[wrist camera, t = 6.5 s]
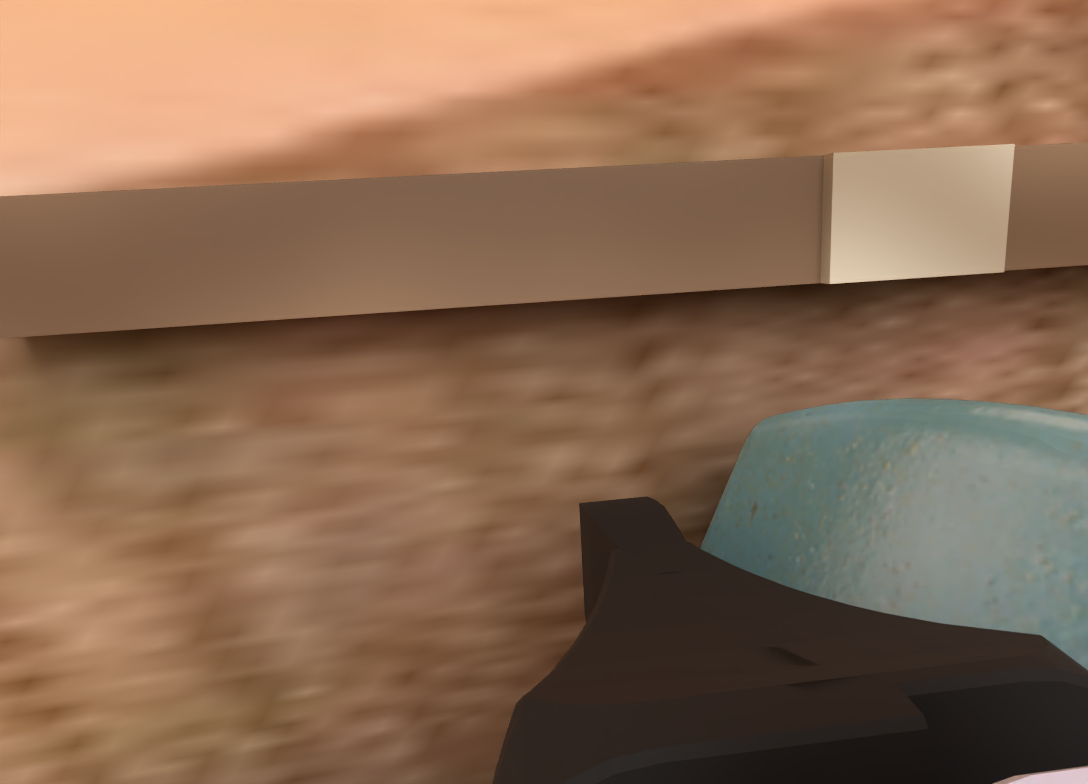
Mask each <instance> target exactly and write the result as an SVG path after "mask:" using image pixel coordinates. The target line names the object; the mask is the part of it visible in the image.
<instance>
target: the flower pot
mask: <svg viewBox="0 0 1088 784" xmlns="http://www.w3.org/2000/svg"><path fill="white" fill-rule="evenodd" d="M700 549H702V550H704V551H706V552H708V553H710V554H712V555H714V556H716V557H718V558H720V559H722V560H724V561H726V562H728V563H730V564H732V565H734V566H737V567H739V568H741V569H744V570H746V571H748V572H751V573H753V574H756V575H759V576H761V577H764V578H766V579H769V580H772V581H774V582H777V583H779V584H782V585H785V586H788V587H791V588H794V589H797V590H800V591H803V592H806V593H809V594H813V595H816V596H820V597H824V598H827V599H831V600H834V601H838V602H841V603H845V604H848V605H852V606H857V607H861V608H865V609H870V610H874V611H878V612H883V613H888V614H893V615H899V616H904V617H909V618H915V619H920V620H925V621H931V622H937V623H943V624H951V625H959V626H968V627H977V628H985V629H994V630H1002V631H1011V632H1019V633H1028V634H1037V635H1041V636H1043V637H1045V638H1046V639H1047V640H1049V641H1050V642H1051V643H1052V644H1054V645H1055V646H1056V647H1058V648H1059V649H1060V650H1062V651H1063V652H1064V653H1066V654H1067V655H1068V656H1070V657H1071V658H1072V659H1074V660H1075V661H1076V662H1078V663H1079V664H1080V665H1082V666H1083V667H1084V668H1086V669H1087V670H1088V415H1085V414H1079V413H1073V412H1067V411H1060V410H1054V409H1048V408H1041V407H1035V406H1026V405H1016V404H1006V403H996V402H984V401H969V400H954V399H909V398H905V399H885V400H865V401H854V402H846V403H837V404H830V405H824V406H819V407H813V408H807V409H802V410H797V411H792V412H787V413H782V414H778V415H774V416H771V417H768V418H766V419H763V420H762V421H761V422H760V423H759V424H757V425H756V426H755V427H754V428H753V430H752V431H751V433H750V434H749V436H748V437H747V439H746V441H745V444H744V446H743V448H742V450H741V453H740V455H739V457H738V460H737V462H736V464H735V466H734V469H733V471H732V473H731V476H730V478H729V481H728V483H727V485H726V488H725V490H724V492H723V495H722V497H721V499H720V502H719V504H718V507H717V509H716V511H715V514H714V516H713V518H712V521H711V523H710V526H709V528H708V530H707V533H706V535H705V538H704V540H703V542H702V545H701V547H700Z"/></svg>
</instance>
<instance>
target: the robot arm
mask: <svg viewBox="0 0 1088 784" xmlns="http://www.w3.org/2000/svg"><path fill="white" fill-rule="evenodd" d="M579 505H580V525H581V545H582V565H583V585H584V605H585V617H586V624H585V626H584V628H583V630H582V631H581V633H580V635H579V636H578V638H577V640H576V641H575V643H574V644H573V645H572V647H571V648H570V649H569V650H568V652H567V653H566V654H565V656H564V657H563V658H562V659H561V661H560V662H559V663H558V665H557V666H556V667H555V669H554V670H553V671H552V672H551V673H550V674H549V675H548V676H547V677H546V678H545V679H543V680H542V681H541V682H540V683H539V684H538V685H537V686H536V687H534V688H533V689H532V690H531V691H530V692H528V693H527V694H526V695H524V696H523V697H522V698H521V699H520V700H519V701H518V702H517V704H516V706H515V709H514V712H513V715H512V718H511V721H510V724H509V727H508V730H507V734H506V737H505V740H504V743H503V747H502V750H501V754H500V757H499V761H498V764H497V768H496V772H495V776H494V780H493V784H1088V670H1087V669H1086V668H1084V667H1083V666H1082V665H1080V664H1079V663H1078V662H1076V661H1075V660H1074V659H1072V658H1071V657H1070V656H1068V655H1067V654H1066V653H1064V652H1063V651H1062V650H1060V649H1059V648H1058V647H1056V646H1055V645H1054V644H1052V643H1051V642H1050V641H1049V640H1047V639H1046V638H1045V637H1043V636H1041V635H1037V634H1028V633H1019V632H1011V631H1002V630H994V629H985V628H977V627H968V626H959V625H951V624H943V623H937V622H931V621H925V620H920V619H915V618H909V617H904V616H899V615H893V614H888V613H883V612H878V611H874V610H870V609H865V608H861V607H857V606H852V605H848V604H845V603H841V602H838V601H834V600H831V599H827V598H824V597H820V596H816V595H813V594H809V593H806V592H803V591H800V590H797V589H794V588H791V587H788V586H785V585H782V584H779V583H777V582H774V581H772V580H769V579H766V578H764V577H761V576H759V575H756V574H753V573H751V572H748V571H746V570H744V569H741V568H739V567H737V566H734V565H732V564H730V563H728V562H726V561H724V560H722V559H720V558H718V557H716V556H714V555H712V554H710V553H708V552H706V551H704V550H702V549H700V548H698V547H696V546H694V545H693V544H691V543H689V542H687V541H686V540H685V539H684V537H683V535H682V534H681V532H680V531H679V529H678V527H677V526H676V524H675V522H674V521H673V519H672V518H671V516H670V515H669V513H668V512H667V510H666V509H665V507H664V506H662V505H661V504H660V503H658V502H657V501H656V500H654V499H652V498H649V497H639V498H629V499H618V500H608V501H598V502H587V503H579Z"/></svg>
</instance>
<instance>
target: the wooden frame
mask: <svg viewBox="0 0 1088 784" xmlns="http://www.w3.org/2000/svg"><path fill="white" fill-rule="evenodd" d="M1080 265H1088V142H1085V143H1065V144H1045V145H1024V146H1015V144H1005V145H985V146H964V147H944V148H924V149H904V150H884V151H864V152H843V153H832V154H828V155H824V156H804V157H784V158H764V159H744V160H724V161H704V162H683V163H663V164H643V165H623V166H603V167H583V168H563V169H543V170H523V171H503V172H483V173H463V174H443V175H423V176H403V177H383V178H362V179H342V180H322V181H302V182H282V183H262V184H242V185H222V186H202V187H182V188H162V189H142V190H122V191H102V192H82V193H62V194H42V195H21V196H1V197H0V338H15V337H30V336H45V335H59V334H74V333H89V332H104V331H118V330H133V329H148V328H163V327H178V326H192V325H207V324H222V323H237V322H252V321H266V320H281V319H296V318H311V317H326V316H340V315H355V314H370V313H385V312H400V311H414V310H429V309H444V308H459V307H474V306H488V305H503V304H518V303H533V302H548V301H562V300H577V299H592V298H607V297H622V296H636V295H651V294H666V293H681V292H696V291H710V290H725V289H740V288H755V287H770V286H784V285H799V284H814V283H825V284H837V283H852V282H867V281H882V280H896V279H911V278H926V277H941V276H955V275H970V274H985V273H1000V272H1004V271H1006V270H1021V269H1036V268H1051V267H1065V266H1080Z"/></svg>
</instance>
